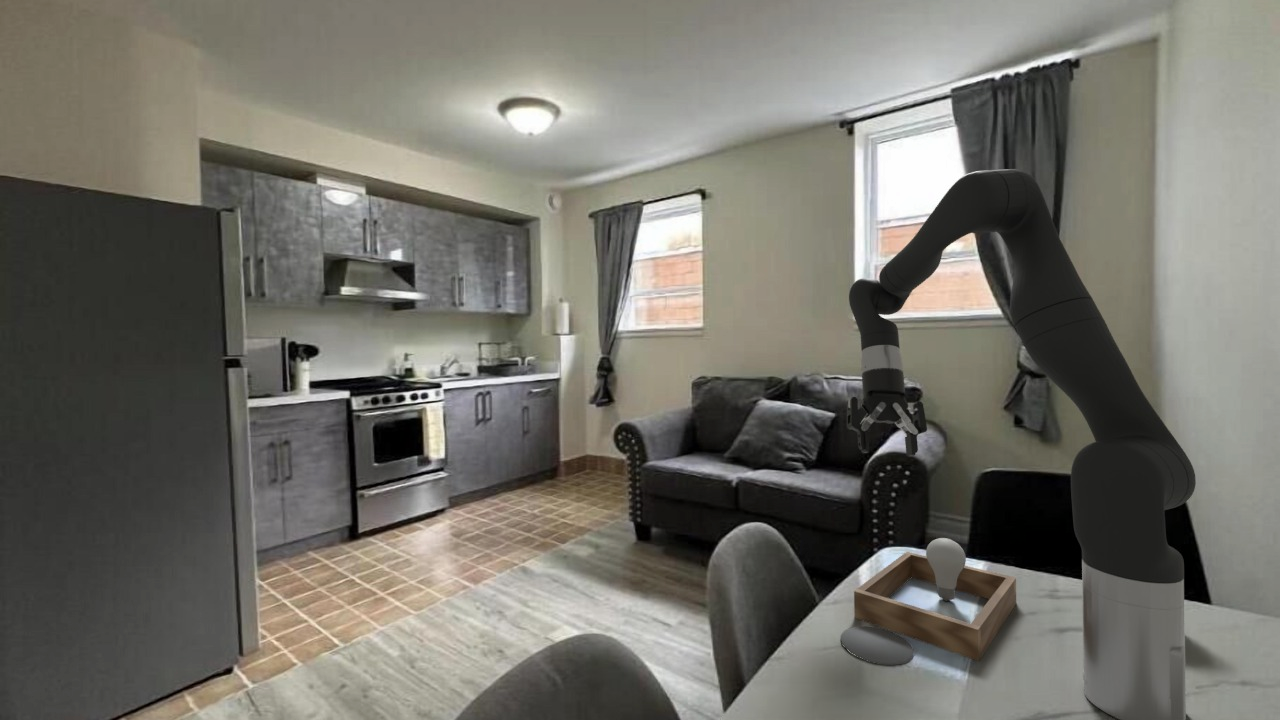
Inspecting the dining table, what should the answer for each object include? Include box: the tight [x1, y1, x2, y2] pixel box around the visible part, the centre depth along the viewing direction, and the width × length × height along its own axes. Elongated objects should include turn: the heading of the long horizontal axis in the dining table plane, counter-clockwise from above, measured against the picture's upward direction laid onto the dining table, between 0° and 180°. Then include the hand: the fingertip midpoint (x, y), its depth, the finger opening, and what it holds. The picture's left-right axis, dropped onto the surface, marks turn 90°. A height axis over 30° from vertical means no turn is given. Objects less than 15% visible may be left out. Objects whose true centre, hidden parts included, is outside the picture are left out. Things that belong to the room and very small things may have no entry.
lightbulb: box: [925, 537, 967, 602], centre depth 94 cm, size 6×6×11 cm
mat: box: [840, 625, 914, 666], centre depth 80 cm, size 10×10×1 cm
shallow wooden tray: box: [853, 551, 1017, 662], centre depth 90 cm, size 18×24×4 cm
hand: (888, 454), depth 100 cm, fingers open, 8 cm apart
